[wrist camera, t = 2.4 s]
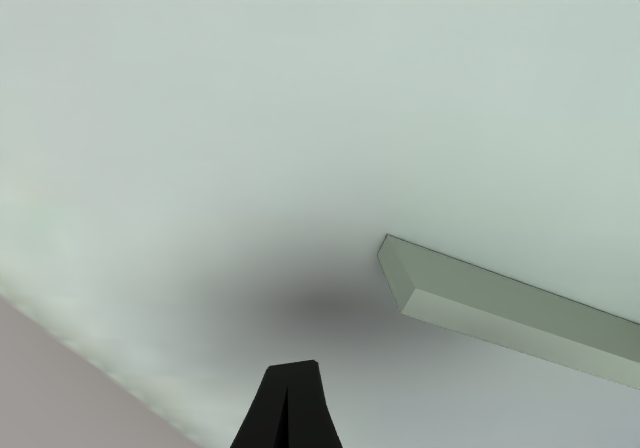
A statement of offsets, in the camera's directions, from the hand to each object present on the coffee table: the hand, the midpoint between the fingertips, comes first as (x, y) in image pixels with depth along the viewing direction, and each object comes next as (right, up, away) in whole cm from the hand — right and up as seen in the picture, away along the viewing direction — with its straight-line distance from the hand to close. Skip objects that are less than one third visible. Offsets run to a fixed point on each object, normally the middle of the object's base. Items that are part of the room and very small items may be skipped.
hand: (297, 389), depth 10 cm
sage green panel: (+11, +1, +6) cm, 12 cm away
